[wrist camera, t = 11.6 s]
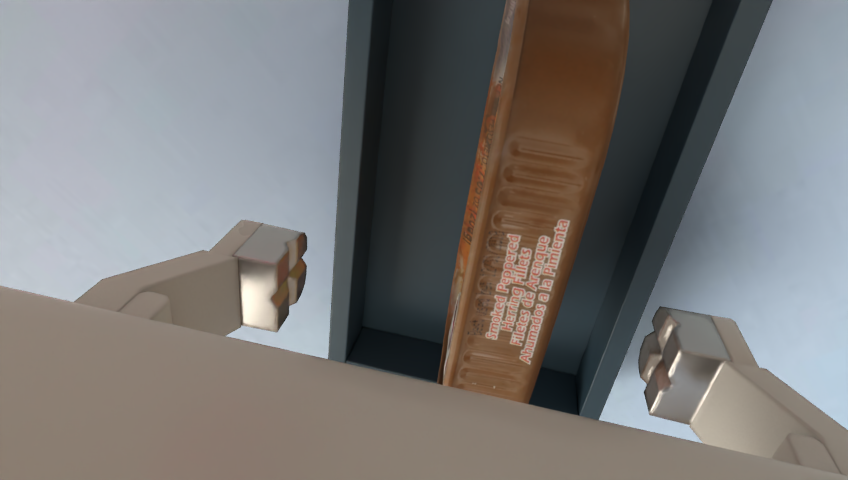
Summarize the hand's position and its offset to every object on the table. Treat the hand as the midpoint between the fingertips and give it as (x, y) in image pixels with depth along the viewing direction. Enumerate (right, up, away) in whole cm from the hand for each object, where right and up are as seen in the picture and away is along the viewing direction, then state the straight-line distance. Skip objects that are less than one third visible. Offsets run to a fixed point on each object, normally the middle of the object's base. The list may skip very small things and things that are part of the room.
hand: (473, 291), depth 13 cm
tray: (+2, +4, +8) cm, 10 cm away
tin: (+2, +4, +8) cm, 9 cm away
